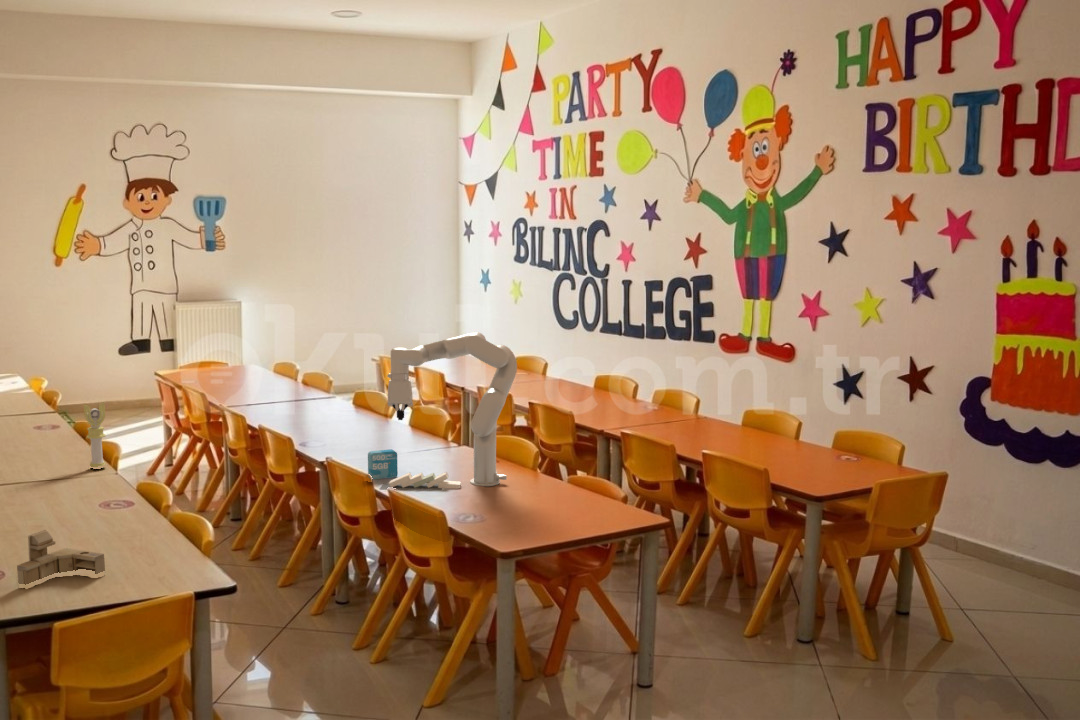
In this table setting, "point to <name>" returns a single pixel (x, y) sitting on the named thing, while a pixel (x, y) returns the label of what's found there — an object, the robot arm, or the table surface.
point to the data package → (382, 464)
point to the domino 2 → (413, 480)
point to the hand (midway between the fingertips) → (400, 419)
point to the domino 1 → (400, 480)
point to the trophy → (95, 432)
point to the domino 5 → (449, 484)
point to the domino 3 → (425, 480)
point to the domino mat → (410, 487)
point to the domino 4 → (438, 479)
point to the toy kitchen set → (55, 559)
